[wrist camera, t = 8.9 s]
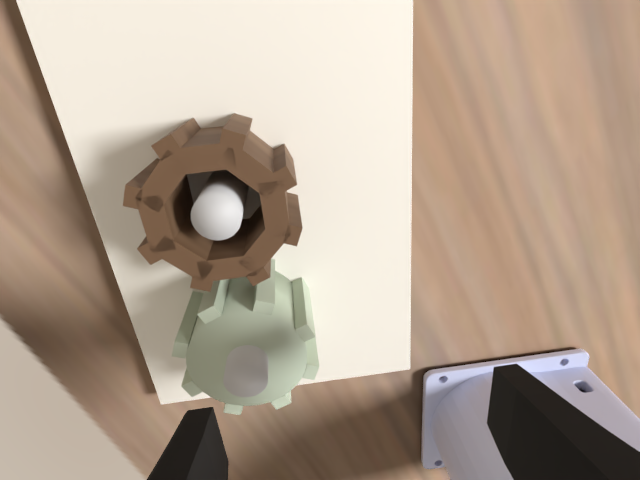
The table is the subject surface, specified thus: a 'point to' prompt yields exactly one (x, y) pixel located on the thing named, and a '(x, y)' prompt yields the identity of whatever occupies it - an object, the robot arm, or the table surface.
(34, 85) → the table surface
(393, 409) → the table surface
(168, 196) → the walnut gear
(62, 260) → the table surface
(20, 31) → the table surface
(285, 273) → the gear board
